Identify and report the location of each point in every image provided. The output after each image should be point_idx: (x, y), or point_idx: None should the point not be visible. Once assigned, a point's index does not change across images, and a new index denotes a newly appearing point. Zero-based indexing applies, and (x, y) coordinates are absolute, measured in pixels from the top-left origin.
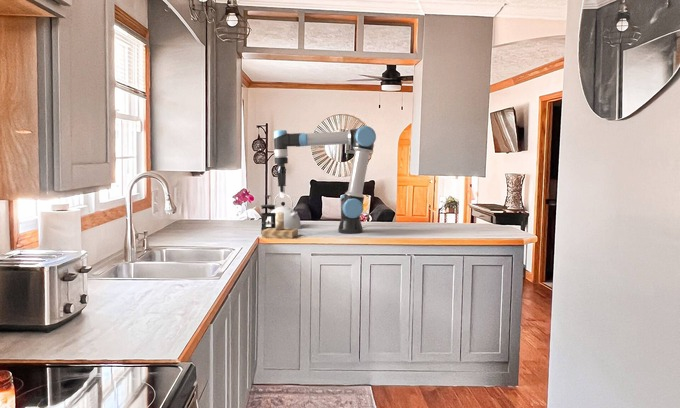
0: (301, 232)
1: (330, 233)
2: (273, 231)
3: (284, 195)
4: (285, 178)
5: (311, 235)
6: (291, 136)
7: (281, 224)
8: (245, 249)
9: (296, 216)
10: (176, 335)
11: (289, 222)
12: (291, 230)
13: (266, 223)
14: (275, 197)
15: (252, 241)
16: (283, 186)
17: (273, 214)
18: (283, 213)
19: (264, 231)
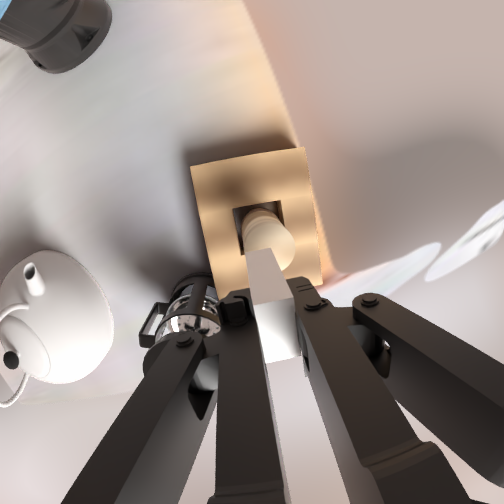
0: (122, 189)
1: (116, 69)
2: (316, 233)
3: (264, 255)
4: (138, 409)
5: (186, 109)
6: None
7: (276, 218)
8: (484, 218)
9: (23, 274)
10: None
11: (69, 280)
12: (266, 165)
13: None
14: (6, 406)
15: (387, 266)
16: (293, 303)
17: (203, 314)
18: (267, 223)
19: (321, 272)
